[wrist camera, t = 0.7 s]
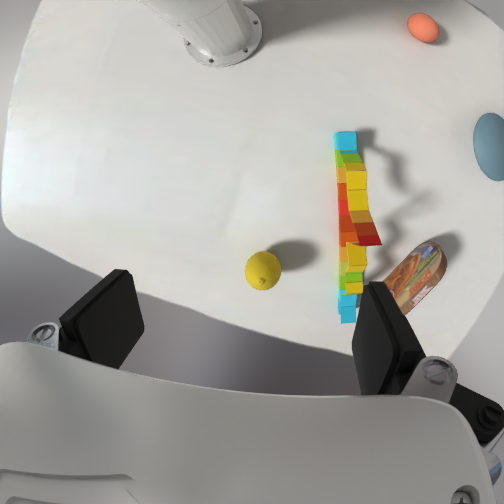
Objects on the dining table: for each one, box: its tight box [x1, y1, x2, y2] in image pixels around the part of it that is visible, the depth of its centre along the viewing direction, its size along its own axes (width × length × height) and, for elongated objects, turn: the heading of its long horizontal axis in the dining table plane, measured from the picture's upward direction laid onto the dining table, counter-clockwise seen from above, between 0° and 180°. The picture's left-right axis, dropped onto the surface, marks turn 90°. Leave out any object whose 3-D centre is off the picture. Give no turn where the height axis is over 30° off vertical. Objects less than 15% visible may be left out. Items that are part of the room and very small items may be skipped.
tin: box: [383, 242, 447, 315], centre depth 40 cm, size 15×3×8 cm, turn 142°
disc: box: [474, 113, 504, 181], centre depth 32 cm, size 13×13×1 cm
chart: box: [334, 132, 382, 324], centre depth 36 cm, size 30×3×15 cm, turn 7°
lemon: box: [245, 251, 281, 290], centre depth 43 cm, size 6×6×8 cm
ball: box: [407, 13, 439, 42], centre depth 26 cm, size 6×6×6 cm
